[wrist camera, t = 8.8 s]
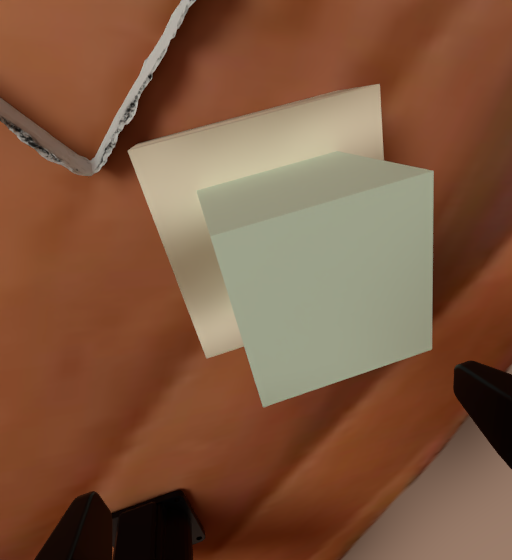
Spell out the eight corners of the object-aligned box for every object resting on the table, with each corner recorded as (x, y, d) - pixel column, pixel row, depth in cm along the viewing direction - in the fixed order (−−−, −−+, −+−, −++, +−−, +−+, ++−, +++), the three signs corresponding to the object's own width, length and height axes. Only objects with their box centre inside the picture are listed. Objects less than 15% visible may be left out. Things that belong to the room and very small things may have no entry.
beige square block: (356, 268, 22) (391, 298, 18) (200, 317, 21) (206, 358, 17) (337, 90, 17) (379, 83, 14) (137, 143, 16) (127, 150, 13)
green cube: (351, 277, 17) (432, 349, 12) (234, 314, 17) (263, 407, 11) (337, 151, 14) (433, 171, 9) (196, 190, 14) (210, 236, 8)
